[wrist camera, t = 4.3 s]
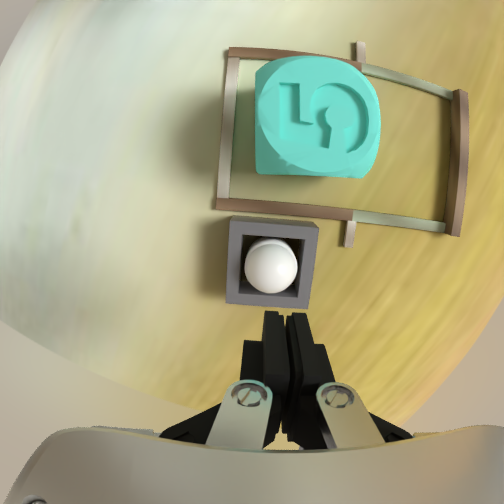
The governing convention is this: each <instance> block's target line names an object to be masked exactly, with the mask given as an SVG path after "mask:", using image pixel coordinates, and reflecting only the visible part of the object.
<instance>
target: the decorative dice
mask: <svg viewBox="0 0 504 504" xmlns="http://www.w3.org/2000/svg"><path fill="white" fill-rule="evenodd" d="M380 127H381V121H380V108H379V102H378V98H377V95H376V92H375V90H374V88H373V86H372V85H371V83H370V82H369V81H368V79H367V78H366V77H365V76H364V75H363V74H362V73H361V72H360V71H359V70H357V69H356V68H355V67H353V66H352V65H350V64H348V63H346V62H343V61H340V60H337V59H333V58H328V57H321V56H292V57H285V58H280V59H277V60H274V61H271V62H269V63H267V64H265V65H264V66H262V67H261V68H260V69H259V70H258V71H256V76H255V159H256V172H257V173H258V174H274V175H310V176H331V177H348V178H363V177H364V176H365V175H366V174H367V173H368V172H369V171H370V169H371V167H372V165H373V163H374V161H375V158H376V155H377V151H378V146H379V140H380Z"/></svg>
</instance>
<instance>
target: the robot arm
mask: <svg viewBox="0 0 504 504" xmlns="http://www.w3.org/2000/svg"><path fill="white" fill-rule="evenodd" d="M280 423H281V424H282V433H283V434H287V440H288V442H291V441H292V442H295V443H297V444H298V445H300V447H299V450H263V448H264V447H266V446H267V445H269V444H270V443H271V442H273V441H274V439H275V435H276V433H278V432H279V427H280ZM4 504H504V427H501V426H496V425H476V426H469V427H463V428H459V429H454V430H449V431H445V432H436V433H414V434H413V436H411V435H410V433H408V432H406V431H405V430H403V429H401V428H399V427H397V426H395V425H393V424H391V423H389V422H387V421H385V420H383V419H381V418H379V417H377V416H375V415H373V414H371V413H370V412H368V411H367V409H366V407H365V406H364V404H363V402H362V400H361V399H360V397H359V395H358V393H357V392H356V391H355V390H354V389H353V388H352V387H350V386H349V385H346V384H344V383H339V382H335V379H334V375H333V372H332V368H331V365H330V362H329V358H328V355H327V352H326V349H325V346H324V344H314V341H313V337H312V334H311V330H310V326H309V322H308V319H307V315H306V313H295V312H292V315H291V316H287V318H286V325H284V317H283V315H279V313H278V311H265V313H264V323H263V332H262V341H251V340H244V345H243V354H242V364H241V373H240V381H237V382H234V383H233V384H232V385H230V386H229V388H228V389H227V391H226V393H225V396H224V399H223V401H222V403H220V404H218V405H216V406H214V407H212V408H210V409H208V410H206V411H204V412H202V413H200V414H198V415H195V416H193V417H191V418H189V419H187V420H185V421H183V422H180V423H179V424H176V425H174V426H171V427H169V428H167V429H166V430H164V431H163V432H162V433H154V432H153V430H150V429H149V430H148V429H147V430H146V429H130V428H117V427H106V426H92V427H77V428H68V429H63V430H60V431H57V432H55V433H53V434H51V435H50V436H49V437H48V438H46V439H45V440H44V441H43V442H42V443H41V445H40V446H39V447H38V448H37V449H36V451H35V452H34V453H33V455H32V456H31V457H30V459H29V460H28V461H27V463H26V464H25V466H24V468H23V469H22V471H21V472H20V474H19V476H18V478H17V479H16V481H15V482H14V484H13V486H12V488H11V490H10V492H9V494H8V496H7V498H6V500H5V502H4Z"/></svg>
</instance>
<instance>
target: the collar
mask: <svg viewBox="0 0 504 504" xmlns="http://www.w3.org/2000/svg"><path fill="white" fill-rule="evenodd" d="M318 233H319V228H318V227H317V226H316V225H315V224H314V223H313V222H308V221H297V220H286V219H274V218H262V217H249V216H235V215H233V217H232V218H231V220H230V226H229V244H228V263H227V284H226V303H229V304H240V305H253V306H266V307H281V308H297V309H308V305H309V299H310V292H311V285H312V279H313V271H314V264H315V257H316V249H317V241H318ZM243 235H257V236H270V237H282V238H295V239H300V241H299V250H298V258H297V273H296V276H295V283H294V285H289V286H288V287H287V288H286V289H284V290H283V291H281V292H278V293H264V292H261V291H259V290H258V289H256V288H255V287H253V286H252V285H251V284H250V282H249V281H241V266H242V250H243Z"/></svg>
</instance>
